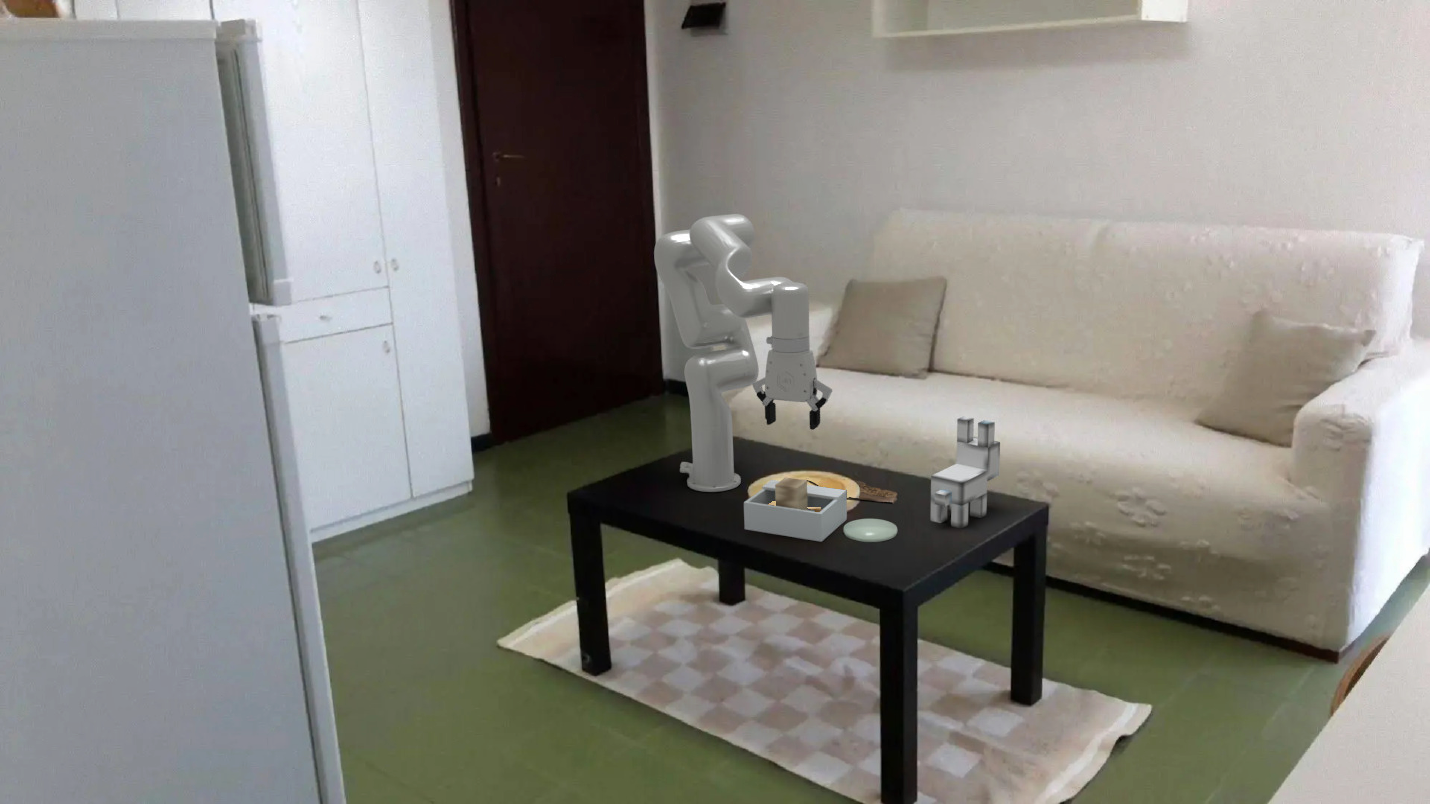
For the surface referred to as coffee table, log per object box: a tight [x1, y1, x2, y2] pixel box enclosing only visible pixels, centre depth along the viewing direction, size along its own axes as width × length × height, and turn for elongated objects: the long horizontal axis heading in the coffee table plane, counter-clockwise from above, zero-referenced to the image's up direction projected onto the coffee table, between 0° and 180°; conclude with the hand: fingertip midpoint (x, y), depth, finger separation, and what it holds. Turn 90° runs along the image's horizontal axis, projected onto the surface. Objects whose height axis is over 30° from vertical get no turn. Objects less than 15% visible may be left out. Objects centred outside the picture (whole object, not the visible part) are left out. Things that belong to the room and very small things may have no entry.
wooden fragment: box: [854, 480, 899, 505], centre depth 263 cm, size 26×11×1 cm, turn 42°
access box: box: [743, 479, 848, 543], centre depth 243 cm, size 18×14×7 cm
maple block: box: [775, 477, 808, 511], centre depth 241 cm, size 5×5×7 cm
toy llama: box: [930, 416, 1001, 529], centre depth 242 cm, size 8×18×20 cm, turn 137°
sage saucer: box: [843, 518, 898, 543], centre depth 238 cm, size 11×11×1 cm
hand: (792, 425), depth 236 cm, fingers open, 9 cm apart
